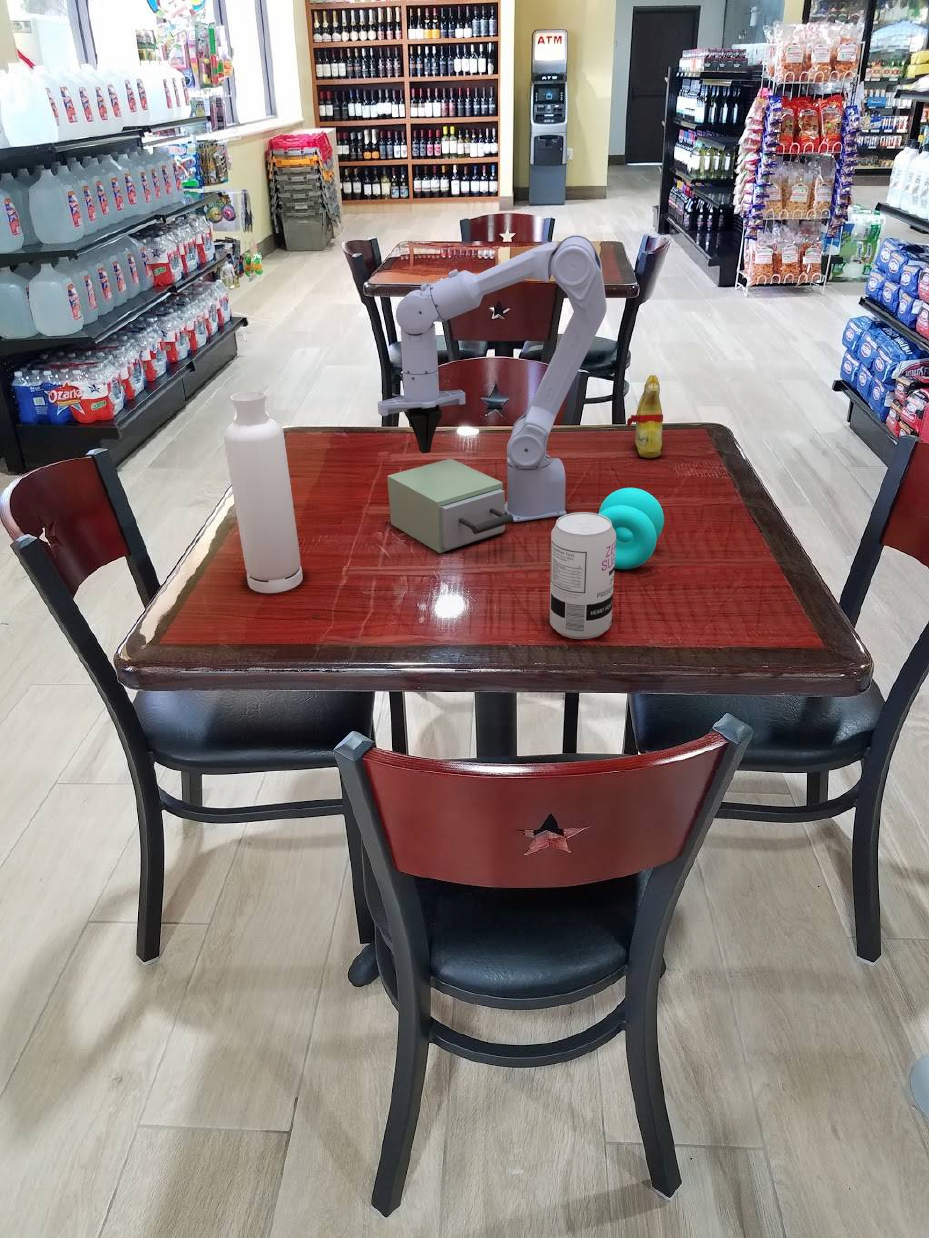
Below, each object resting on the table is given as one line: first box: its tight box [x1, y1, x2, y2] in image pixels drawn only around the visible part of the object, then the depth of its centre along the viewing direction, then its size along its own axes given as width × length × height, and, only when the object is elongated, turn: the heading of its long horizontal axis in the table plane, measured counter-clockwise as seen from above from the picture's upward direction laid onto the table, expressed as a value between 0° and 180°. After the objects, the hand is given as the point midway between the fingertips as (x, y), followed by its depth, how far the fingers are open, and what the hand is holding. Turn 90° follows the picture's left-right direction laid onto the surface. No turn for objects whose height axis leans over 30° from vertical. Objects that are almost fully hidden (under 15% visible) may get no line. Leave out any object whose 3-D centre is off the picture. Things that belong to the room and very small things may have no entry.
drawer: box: [441, 489, 514, 549], centre depth 149 cm, size 19×11×7 cm, turn 35°
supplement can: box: [549, 511, 616, 640], centre depth 121 cm, size 8×8×15 cm
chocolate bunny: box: [626, 374, 664, 459], centre depth 179 cm, size 7×11×15 cm, turn 176°
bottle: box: [223, 390, 303, 594], centre depth 132 cm, size 8×8×28 cm
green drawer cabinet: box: [386, 458, 504, 554], centre depth 152 cm, size 15×13×9 cm
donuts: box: [598, 487, 665, 570], centre depth 140 cm, size 10×10×10 cm
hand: (424, 451), depth 156 cm, fingers closed
